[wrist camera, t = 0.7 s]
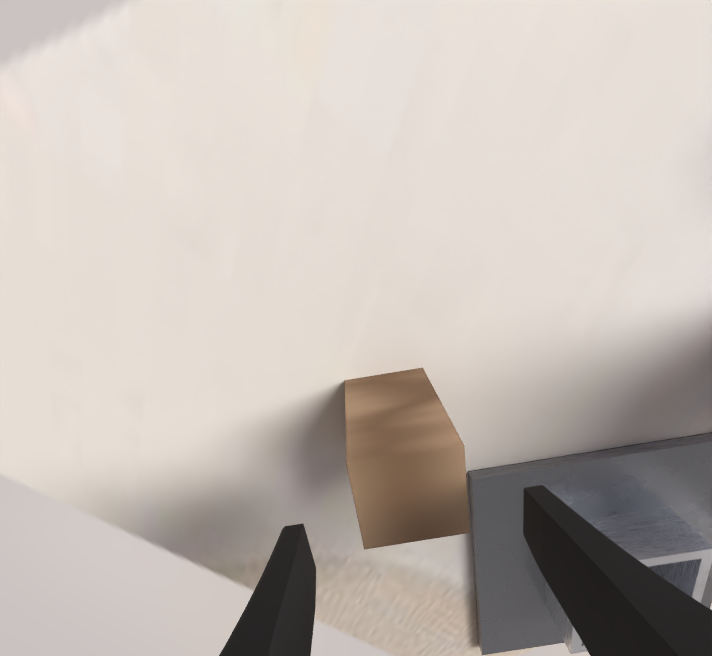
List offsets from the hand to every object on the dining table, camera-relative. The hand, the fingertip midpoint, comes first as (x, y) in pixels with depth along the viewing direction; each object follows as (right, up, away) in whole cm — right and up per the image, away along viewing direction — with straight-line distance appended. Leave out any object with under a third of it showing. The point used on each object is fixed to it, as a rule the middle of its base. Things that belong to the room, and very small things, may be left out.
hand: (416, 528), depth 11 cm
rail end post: (0, +2, +7) cm, 7 cm away
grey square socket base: (+14, -8, +11) cm, 19 cm away
